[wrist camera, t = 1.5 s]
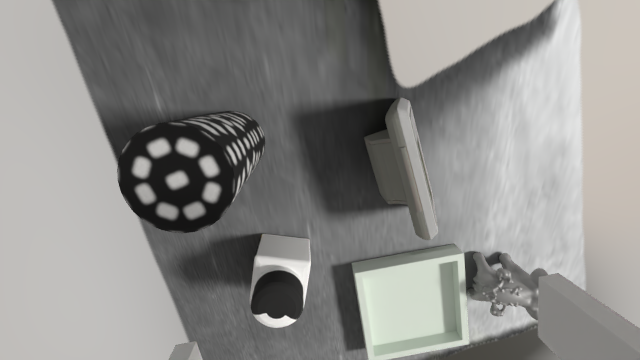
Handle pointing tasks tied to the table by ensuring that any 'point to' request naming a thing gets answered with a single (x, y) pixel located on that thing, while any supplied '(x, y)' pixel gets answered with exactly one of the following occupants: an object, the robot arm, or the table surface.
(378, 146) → the digital clock
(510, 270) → the elephant statuette
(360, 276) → the tray
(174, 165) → the spotted tube
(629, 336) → the robot arm
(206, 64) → the table surface
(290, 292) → the medicine bottle
